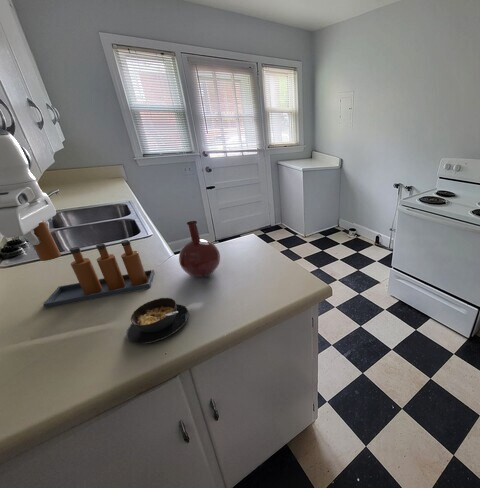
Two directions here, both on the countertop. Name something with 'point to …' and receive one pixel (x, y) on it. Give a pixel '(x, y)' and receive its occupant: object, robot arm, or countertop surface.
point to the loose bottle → (45, 243)
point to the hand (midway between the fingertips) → (41, 240)
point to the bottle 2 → (109, 268)
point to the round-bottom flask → (198, 254)
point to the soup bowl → (156, 320)
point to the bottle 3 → (133, 264)
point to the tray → (76, 294)
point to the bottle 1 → (85, 273)
